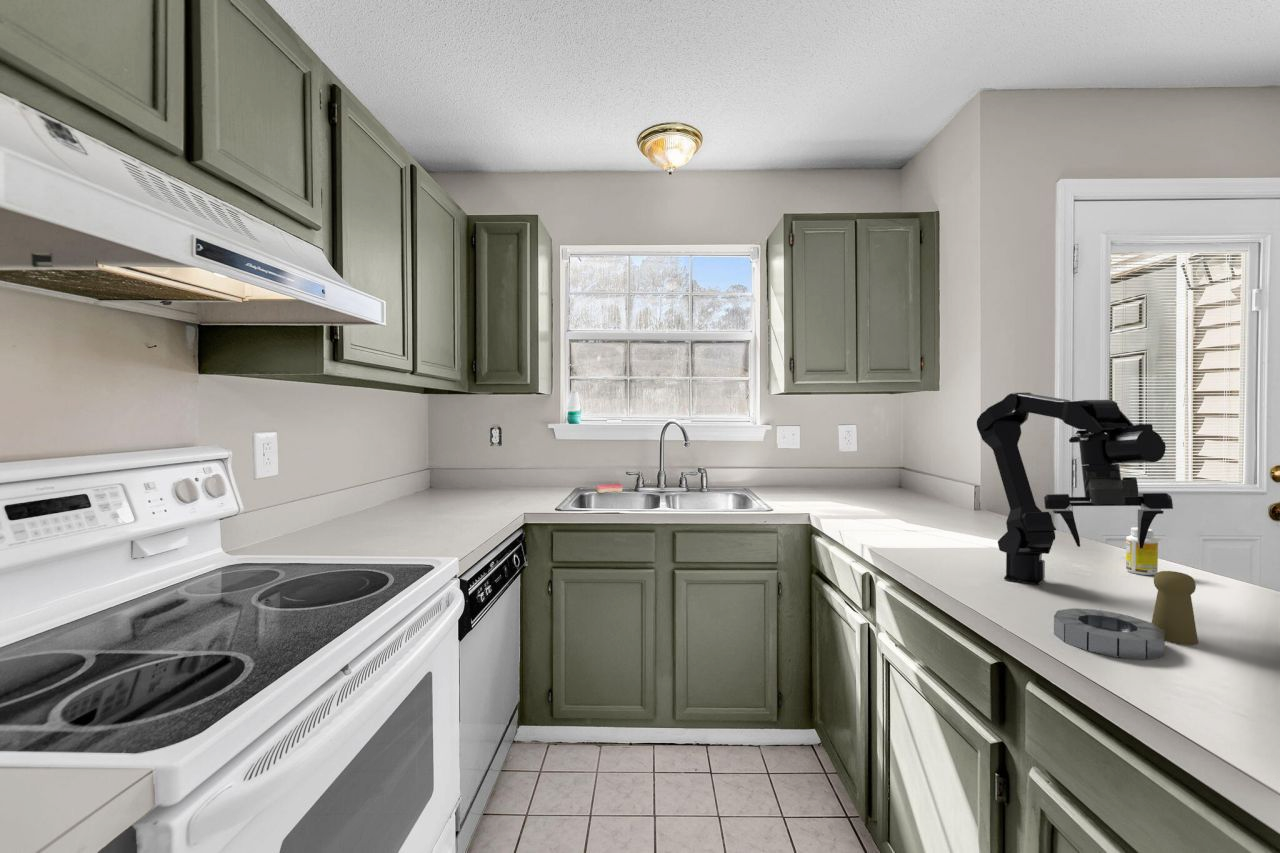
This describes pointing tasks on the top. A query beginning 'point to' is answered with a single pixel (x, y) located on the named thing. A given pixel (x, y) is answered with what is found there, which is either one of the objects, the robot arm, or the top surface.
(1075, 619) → the ring
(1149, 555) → the supplement bottle
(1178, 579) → the cork
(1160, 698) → the top surface
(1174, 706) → the top surface
